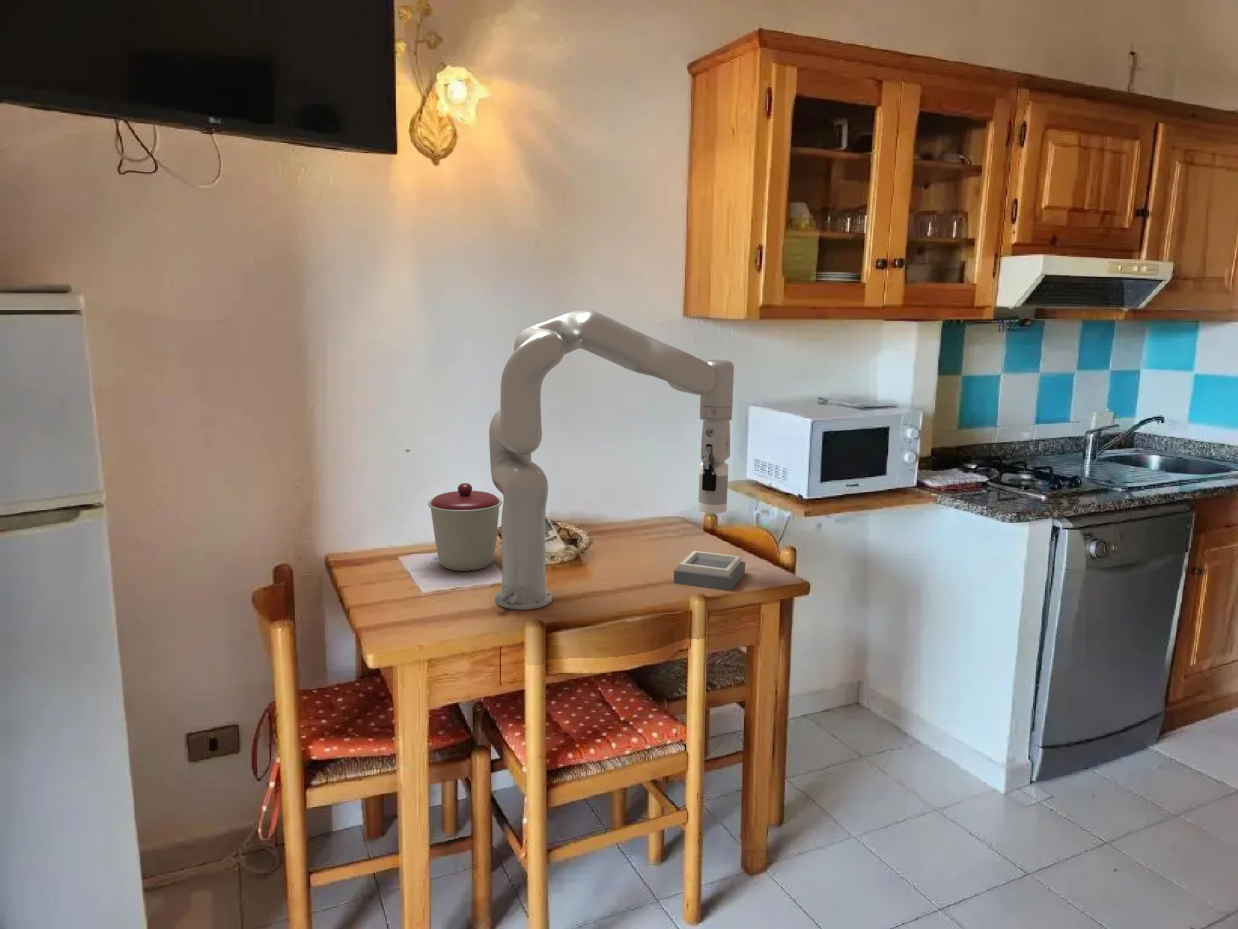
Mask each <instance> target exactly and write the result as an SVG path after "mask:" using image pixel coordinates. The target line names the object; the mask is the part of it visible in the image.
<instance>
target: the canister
mask: <svg viewBox="0 0 1238 929" xmlns="http://www.w3.org/2000/svg"><path fill="white" fill-rule="evenodd" d="M427 505H428V507H429V509H430V511H431V521H432V526H433V528H432V529H433V535H434V542H435V546H436V553H437V558H438V561H439V562H440V564H441V565H442V566H443V567H444V568H446V569H448V570H451V571H455V570H457V572H471V571H470V570H472V571H476V570H477V571H478V570H482V569H485V568H487V567H489V565H490V564H492V562H493V559H494V558H495V557H494V556H495V554H496V553H495V552H496V543H497V537H498V536H497V534H498V526H499V514H500V506H501V505H503V500H502V499H501V498H499V497H498V496H496V495H495V494H493V493H490V492H487V491H480V490H473V486H472V484H470V483H466V482H465V483H464V482H463V483H460V484H459V485H457V490H454V491H448V492H444V493H441V494H438V495H436V496H435V497H433V498H431V499H430V500H428V502H427Z"/></svg>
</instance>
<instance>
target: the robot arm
mask: <svg viewBox="0 0 1238 929" xmlns="http://www.w3.org/2000/svg"><path fill="white" fill-rule="evenodd" d="M579 349H580V350H584V351H587V352H588V353H591V354H593V355H595V356H598V357H599V358H602V359H605V360H606V361H609V362H611V363H614V364H616V366H617V365H618V366H620V367H623V368H624V369H627V370H629V371H632V372H635V373H637V374H640V375H644V376H645V375H646V376H650V377H653V378H656V379H657V378H658V379H660V380H662V381H665V382H667V384H668V385H669V386H670V387H671V388H672V389H674V390H675V391H678V392H683V393H687V394H692V395H697V396H700V398H699V399H700V401H699V402H700V405H699V420H702V428H701V429H702V430H701V441H700V442H701V444H700V445H701V447H700V459H701V461H702V462H703V477H702V490H704V491H715V490H716V475H717V474H715V471H716V464H717V461H718V463H722V462H725V461H726V460H728V459H729V458H730V457H731V425H730V424H731V421H732V420H733V403H734V402H733V401H734V399H733V398H734V381H735V380H734V379H735V366H734V363H733V362H732V361H731V360H727V359H707V360H703V359H701V358H699V357H696V356H694V355H692V354H691V353H688V352H686V351H683V350H681V349H679V348H676V347H675V346H672V345H669V344H667V343H664V342H662V341H660V340H658V339H656V338H654V337H651V336H649V335H647V334H644V333H642V332H640V331H638V330H635V329H634V328H632V327H630V326H627V325H625V324H624V323H621V322H620V321H617V320H615V319H613V318H611V317H609V316H607V315H604V314H603V313H599V312H596V311H594V310H583V309H582V310H581V309H579V310H578V309H577V310H573V311H571V312H568V313H565V314H563V315H560V316H557V317H555V318H551V319H549V320H547V321H544V322H540V323H537V324H535V325H532V326H530V327H527V328H525V329H523V330H522V331H520V333H519V334H517V336H516V337H515V340H514V343H513V353H512V354H511V355H510V357H509V358H508V360H507V361H506V363H505V365H504V367H503V370H502V374H501V380H500V401H499V402H500V409H499V410H498V411H496V412H495V414H494V415H493V416H492V418H491V420H490V424H489V431H488V436H489V438H488V439H489V462H490V474H491V480H492V484H494V486H495V488H496V489H497V490H498V492H500V493H501V494H502V495H503V500H502V510H501V564H502V565H501V573H502V574H501V578H502V580H501V582H502V584H501V589H502V590H500V591H499V592H497V593H496V594H495V597H494V602H495V604H496V605H498V606H500V607H502V608H505V609H510V610H516V611H517V610H519V611H520V610H521V611H522V610H523V611H524V610H535V609H540V608H543V607H547V606H548V605H549V604H550V603H552V601H553V593H552V592H551V591H550V590H548V589H547V588H546V514H547V512H546V510H547V509H546V508H547V503H548V496H549V495H548V494H549V483H548V479H547V476H546V474H545V473H544V470H543V469H542V468H541V467H540V466H539V465H537V464H536V463H535V462H533V461H532V454H533V453H534V452H535V451H536V450H538V448H539V446H541V442H542V438H543V436H542V435H543V431H542V430H543V429H542V408H541V403H542V402H541V400H542V399H541V398H542V397H541V395H542V385H543V383H544V382H543V381H544V379H545V378H546V376H547V374H548V373H549V372H550V371H551V370H553V369H554V368H555V367H557V366H558V365H559V364H560V363H561V362H562V360H563V358H564V355H567V354H569V353H571V352H574V351H576V350H579ZM710 459H714V461H710ZM711 464H713V468H712V465H711Z"/></svg>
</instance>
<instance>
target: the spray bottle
mask: <svg viewBox="0 0 1238 929" xmlns="http://www.w3.org/2000/svg"><path fill="white" fill-rule="evenodd" d="M710 461H714V459H710ZM711 465H712V468H713V464H711ZM698 473H699V474H698V476H699V477H698V478H699V479H698V500H697V501H698V502H697V508H698V510H699V512H701V513H706V514H722V513H725V512H726V511H727V509H728V508H727V507H728V485H729V482H728V481H729V464H728V463H726V462H725V461H724V462H722V463H718V461H717V464H716V471H715V474H717V475H716V490H715V491H704V490H702V477H703V461H702V462H701V463H700V464H699V472H698Z"/></svg>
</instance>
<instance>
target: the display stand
mask: <svg viewBox="0 0 1238 929" xmlns="http://www.w3.org/2000/svg"><path fill="white" fill-rule="evenodd" d="M745 573H746V561H744V560H743V561H742V558H741V556H740V555H732V554H723V553H714V552H707V551H699V550H698V551H697V550H693V551H692V552H691V553H690V554H688V555H687V556H686V557H685V558H684V559H683V560H682V561H681V562H680V563H679V566H678V567H677V568H675V569H674V571H673V583H674V584H680V585H688V586H692V587H693V586H695V587H702V588H709V589H716V590H722V589H727V590H726V591H730V590H731V591H732V590H733V589H734V588H735V587H736V585H737V584H738V583H739V582H740V581H741V579H742V578H743V576H744V575H745Z"/></svg>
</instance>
